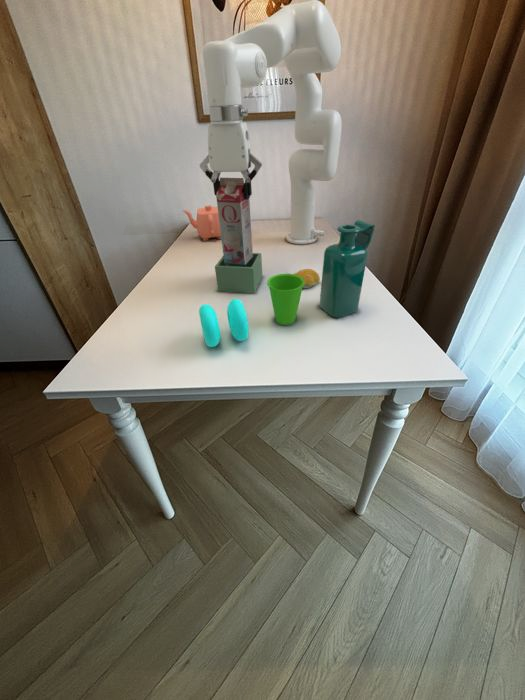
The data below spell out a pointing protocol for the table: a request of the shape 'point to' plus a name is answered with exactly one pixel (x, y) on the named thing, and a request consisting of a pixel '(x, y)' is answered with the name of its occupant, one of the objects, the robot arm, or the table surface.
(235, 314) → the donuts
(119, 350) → the table surface
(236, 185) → the juice carton
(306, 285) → the bread roll
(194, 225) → the teapot
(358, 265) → the pitcher
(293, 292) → the cup
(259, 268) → the bin
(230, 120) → the robot arm
